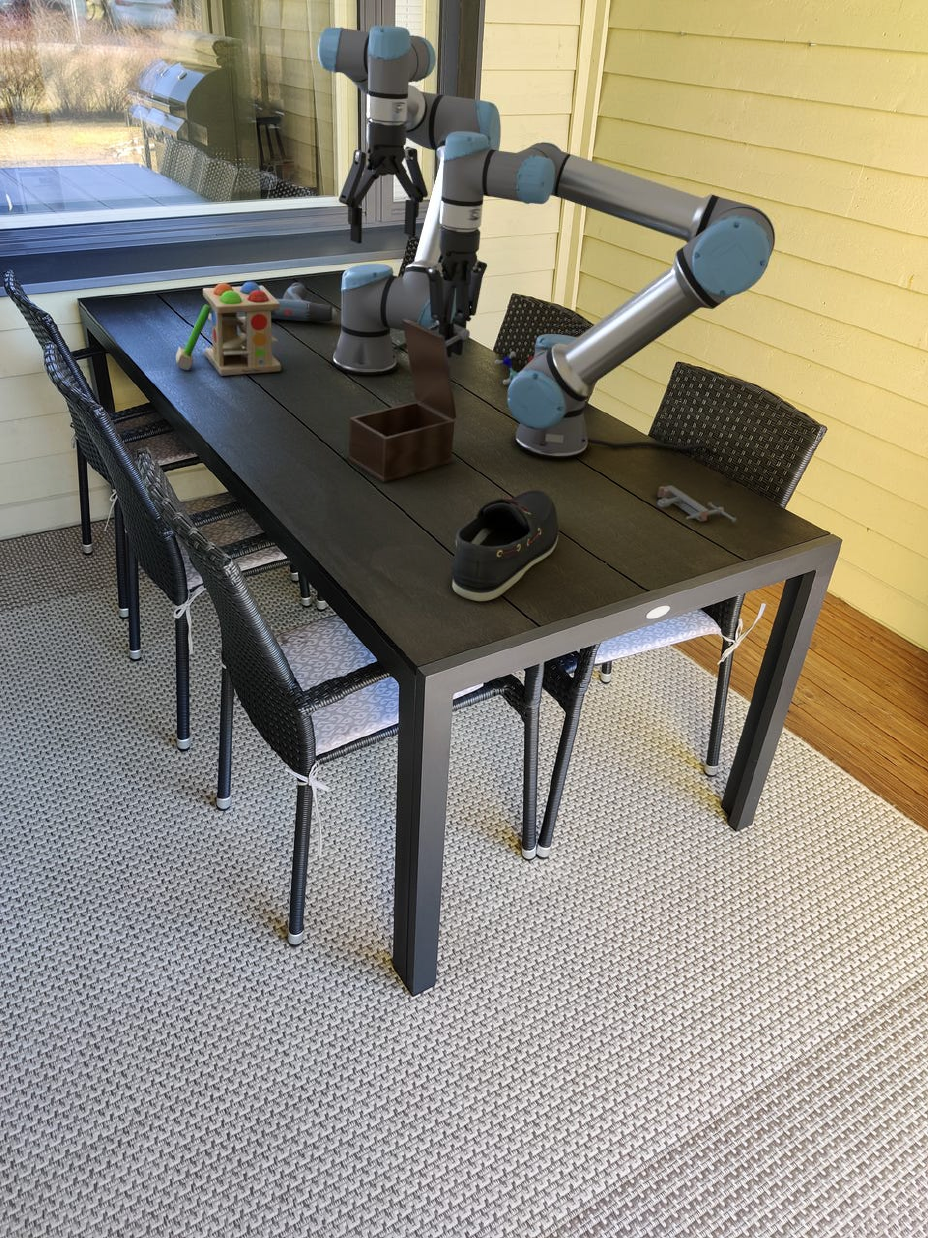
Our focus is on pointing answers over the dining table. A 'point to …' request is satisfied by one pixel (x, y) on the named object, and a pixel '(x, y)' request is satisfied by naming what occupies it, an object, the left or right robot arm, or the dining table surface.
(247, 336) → the pounding bench toy
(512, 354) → the molecular model
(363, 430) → the chest
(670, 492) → the clamp
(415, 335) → the lid
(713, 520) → the dining table surface
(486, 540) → the boat shoe
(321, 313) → the power drill
